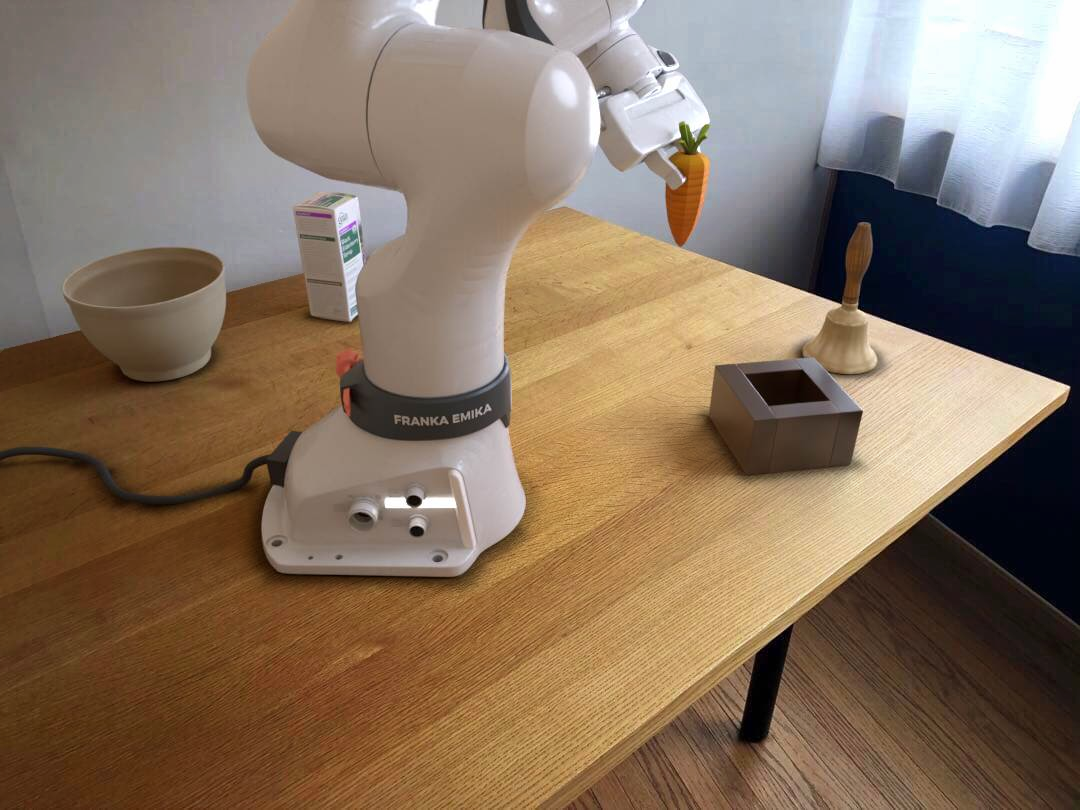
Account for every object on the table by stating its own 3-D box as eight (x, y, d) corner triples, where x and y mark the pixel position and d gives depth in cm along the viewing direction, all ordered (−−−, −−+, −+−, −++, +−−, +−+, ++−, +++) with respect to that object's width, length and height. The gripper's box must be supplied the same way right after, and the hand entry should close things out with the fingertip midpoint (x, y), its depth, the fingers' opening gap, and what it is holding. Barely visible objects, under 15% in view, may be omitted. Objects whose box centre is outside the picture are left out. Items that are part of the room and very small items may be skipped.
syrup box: (350, 323, 106) (336, 209, 99) (308, 316, 108) (291, 203, 100) (372, 304, 111) (360, 194, 103) (331, 298, 112) (316, 189, 105)
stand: (745, 475, 79) (754, 420, 76) (708, 416, 88) (714, 364, 85) (850, 464, 81) (863, 410, 78) (803, 407, 90) (813, 356, 87)
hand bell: (822, 378, 95) (850, 240, 87) (790, 343, 102) (812, 213, 94) (891, 371, 96) (925, 235, 88) (854, 337, 103) (882, 209, 95)
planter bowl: (56, 389, 92) (25, 296, 87) (148, 324, 106) (126, 240, 100) (189, 408, 89) (166, 313, 83) (267, 339, 102) (251, 253, 97)
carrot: (699, 240, 107) (713, 115, 99) (702, 254, 103) (716, 126, 95) (659, 238, 107) (669, 114, 99) (660, 253, 103) (671, 124, 95)
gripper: (596, 77, 90) (673, 185, 91) (678, 51, 105) (744, 144, 105) (558, 115, 94) (632, 218, 95) (643, 85, 109) (706, 174, 110)
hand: (692, 179), depth 100 cm, fingers closed on carrot, 4 cm apart
